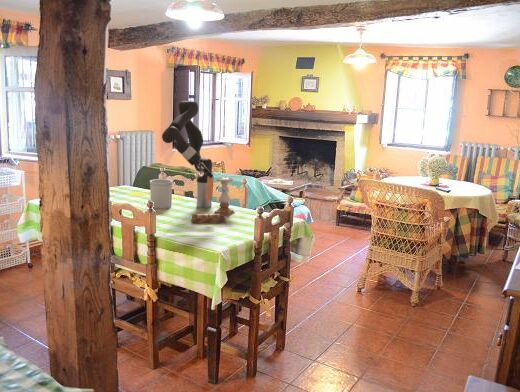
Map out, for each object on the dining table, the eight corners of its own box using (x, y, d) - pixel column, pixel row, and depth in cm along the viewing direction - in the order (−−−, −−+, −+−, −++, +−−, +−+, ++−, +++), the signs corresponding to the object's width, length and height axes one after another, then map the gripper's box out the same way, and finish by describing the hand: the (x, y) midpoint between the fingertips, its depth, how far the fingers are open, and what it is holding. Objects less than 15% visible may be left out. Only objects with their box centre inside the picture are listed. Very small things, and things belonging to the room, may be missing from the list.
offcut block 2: (209, 222, 274) (209, 215, 273) (209, 221, 277) (209, 213, 276) (219, 222, 275) (219, 214, 274) (219, 221, 278) (219, 213, 277)
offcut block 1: (197, 222, 273) (197, 215, 272) (197, 221, 275) (197, 213, 274) (207, 222, 274) (207, 215, 273) (207, 221, 277) (207, 213, 276)
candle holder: (235, 214, 300) (236, 178, 295) (228, 218, 290) (229, 180, 285) (219, 212, 304) (220, 176, 299) (212, 216, 294) (213, 179, 289)
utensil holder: (175, 208, 313) (175, 182, 309) (152, 209, 306) (152, 183, 302) (169, 203, 325) (169, 178, 322) (147, 204, 319) (147, 179, 315)
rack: (191, 226, 270) (191, 218, 269) (190, 221, 280) (190, 214, 280) (226, 225, 274) (226, 218, 273) (223, 220, 284) (224, 213, 283)
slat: (206, 199, 276) (207, 176, 273) (205, 199, 277) (207, 175, 275) (212, 200, 277) (213, 176, 274) (211, 199, 278) (213, 176, 275)
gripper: (196, 152, 263) (217, 174, 268) (195, 149, 276) (215, 170, 281) (186, 161, 263) (208, 183, 268) (185, 158, 276) (206, 179, 281)
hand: (211, 176), depth 274 cm, fingers closed on slat, 1 cm apart
